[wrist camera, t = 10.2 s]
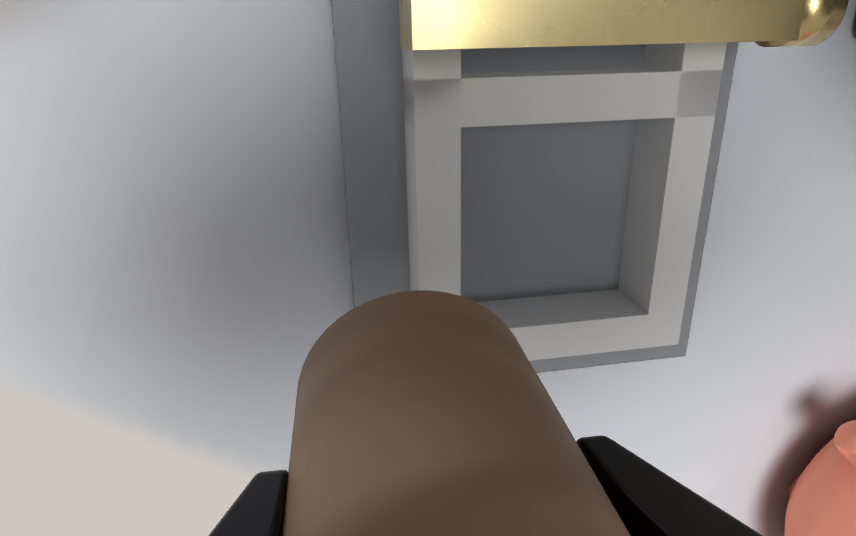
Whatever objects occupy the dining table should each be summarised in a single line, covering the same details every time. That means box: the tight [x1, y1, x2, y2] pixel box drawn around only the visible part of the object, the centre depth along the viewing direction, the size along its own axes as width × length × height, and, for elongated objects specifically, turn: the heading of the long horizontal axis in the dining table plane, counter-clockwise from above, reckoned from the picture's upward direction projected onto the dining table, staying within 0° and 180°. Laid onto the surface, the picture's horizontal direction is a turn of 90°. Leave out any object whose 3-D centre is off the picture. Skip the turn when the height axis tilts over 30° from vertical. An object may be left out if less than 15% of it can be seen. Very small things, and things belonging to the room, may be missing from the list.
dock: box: [331, 0, 738, 373], centre depth 17 cm, size 12×18×3 cm
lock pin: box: [399, 0, 848, 50], centre depth 13 cm, size 10×2×2 cm, turn 91°
